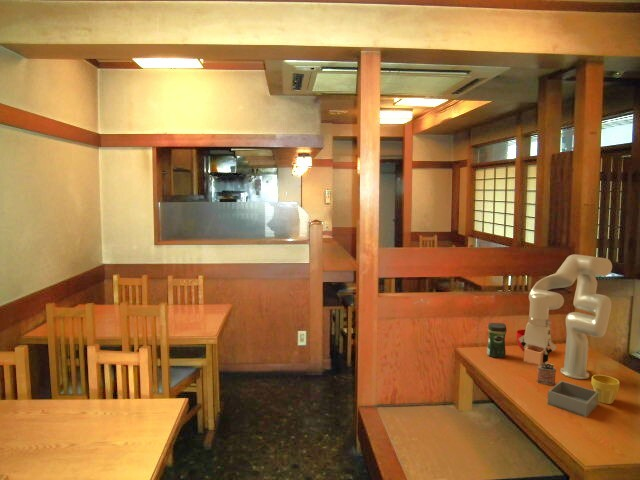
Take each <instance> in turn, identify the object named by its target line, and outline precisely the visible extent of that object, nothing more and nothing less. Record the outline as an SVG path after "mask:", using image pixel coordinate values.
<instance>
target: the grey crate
mask: <svg viewBox="0 0 640 480" xmlns="http://www.w3.org/2000/svg"><path fill="white" fill-rule="evenodd" d="M598 394H599V392H597V391H594V389H591V388H587V387H584V386H579V385H577V384H574V383H570V382H567V381H565V380H560V381H559V382H558V383H555V385H553V386H552V387H551V388H550V389H549V390H548V393H547V402H546V403H547V405H549V406H552V407H555V408H558V409H561V410H564V411H566V412H570V413H572V414H575V415H578V416H580V417H582V418H583V417H584V418H587V417H588V416H589V415H590V414H591V413H592V412H593V411H594V410H595V409H596V408H597V406H598V402H599V401H598Z"/></svg>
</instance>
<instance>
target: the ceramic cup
mask: <svg viewBox="0 0 640 480" xmlns="http://www.w3.org/2000/svg"><path fill="white" fill-rule="evenodd" d="M525 330H526V329H518V330H516V336H515V337H516V342H517V346H519V348H520V349H521V351H523V352H524V347H523V345H522V344H521V342H520V341H519V339H518V338H520V337H522V336H524V335H525ZM523 340H524V339H523Z"/></svg>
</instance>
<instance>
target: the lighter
mask: <svg viewBox="0 0 640 480" xmlns="http://www.w3.org/2000/svg"><path fill="white" fill-rule="evenodd" d="M554 365H555V364H554V363H550V362H548V361H547V362H545V363H544V364H542V365H541V366H537V374H536V375H537V376H536V381H535V382H536V383H537V382H538V384H541V383H542V385H547V384H549V386H555V385H556V372H557V368H555V367H554Z"/></svg>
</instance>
